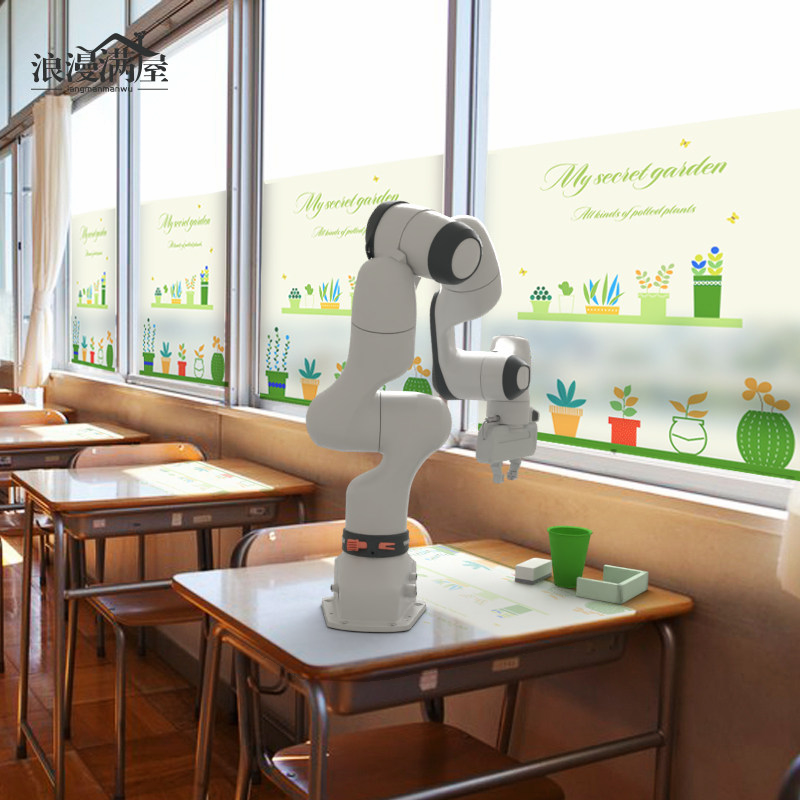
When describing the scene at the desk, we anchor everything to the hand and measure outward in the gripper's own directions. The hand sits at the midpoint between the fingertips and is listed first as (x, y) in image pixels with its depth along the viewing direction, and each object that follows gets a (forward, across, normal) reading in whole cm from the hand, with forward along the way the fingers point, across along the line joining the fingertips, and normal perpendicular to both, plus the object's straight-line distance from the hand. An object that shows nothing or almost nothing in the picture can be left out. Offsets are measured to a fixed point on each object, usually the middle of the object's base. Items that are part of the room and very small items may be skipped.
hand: (505, 481), depth 215 cm
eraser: (+19, 0, -7) cm, 21 cm away
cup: (+19, 0, -15) cm, 24 cm away
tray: (+19, 0, -24) cm, 31 cm away
